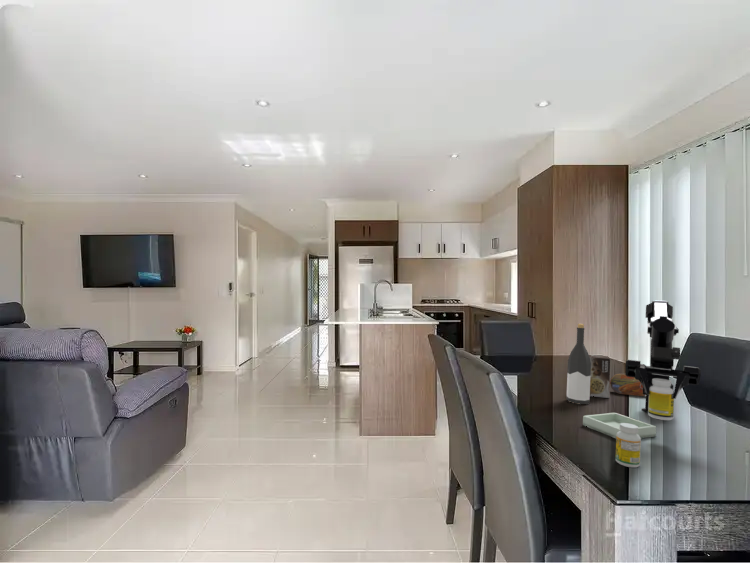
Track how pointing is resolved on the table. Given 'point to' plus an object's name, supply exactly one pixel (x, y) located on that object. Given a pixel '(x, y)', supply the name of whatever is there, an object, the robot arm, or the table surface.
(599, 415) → the tray
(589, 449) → the table surface
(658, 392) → the pill bottle
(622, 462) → the supplement bottle
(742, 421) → the table surface
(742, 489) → the table surface
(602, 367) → the coffee box
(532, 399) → the table surface
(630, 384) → the tin
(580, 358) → the wine bottle
